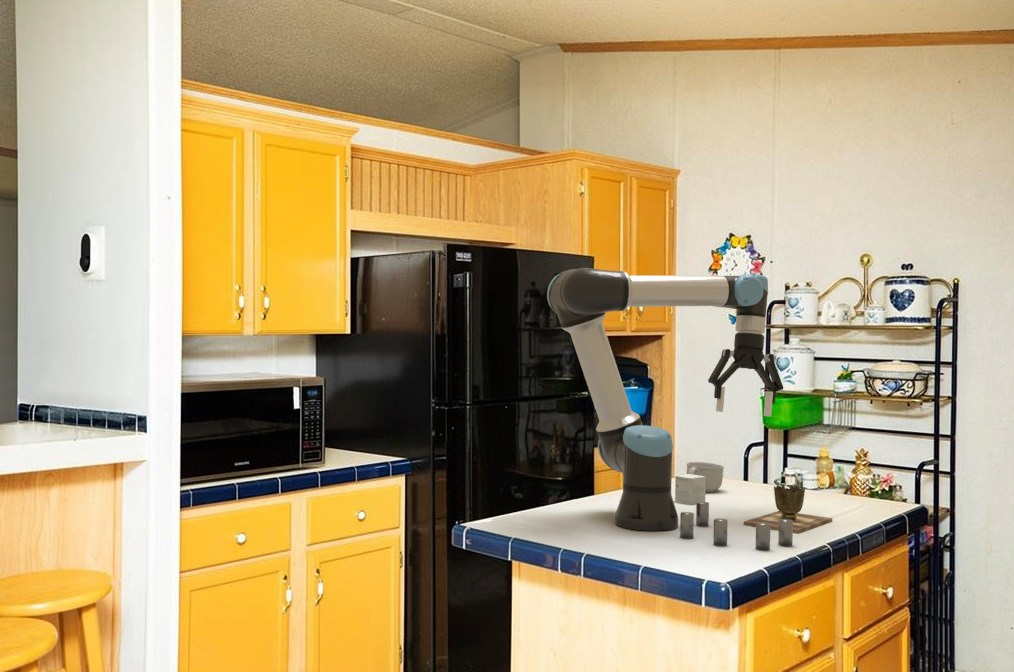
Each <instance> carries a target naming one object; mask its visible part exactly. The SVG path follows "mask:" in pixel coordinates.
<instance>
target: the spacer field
mask: <svg viewBox="0 0 1014 672" xmlns="http://www.w3.org/2000/svg"><path fill="white" fill-rule="evenodd" d="M695 506H696V507H695V508H696V509H695V512H696V513H695V514H694V512H691V511H682V512H680V516H679V517H680V523H679V525H680V526H679V527H680V528H679V529H680V530H679V537H680V539H685V540H686V539H687V540H690V539H694V536H695V535H694V528H695V526H697V527H703V528H704V527H709V525H710V524H709V522H710V519H709V518H710V515H709V514H710V513H709V511H710V510H709V509H710V502H709V501H708V502H707V501H705V502H696V504H695ZM694 518H695V519H694ZM694 520H695V521H694ZM728 521H729V520H728V519H727V518H718V517H717V518H714V519H713V535H712V537H713V539H712V541H713V542H712V543H713V546H717V547H725V546H728V525H729V523H728ZM694 522H695V523H694ZM694 524H695V525H694ZM793 535H794V533H793V520H791V519H779V530H778V546H782V547H792V546H793V537H794V536H793ZM755 549H756V550H758V551H770V550H771V529H770V523H766V522H757V523H756V527H755Z"/></svg>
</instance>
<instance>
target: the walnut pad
mask: <svg viewBox="0 0 1014 672" xmlns="http://www.w3.org/2000/svg"><path fill="white" fill-rule="evenodd" d="M781 514H782V512H780V511H779V510H777V511H773V512H771V513H768V514H764V515H761V516H757V517H754V518H751V519H747V520H744V521H743V525H744V526H749V527H755V528H756V523H757V522H766V523H770V530H774V531H779V519H783V518H782V517H781ZM796 516H797V517H796V519H795V520H793V534H800V533H805V532H806V531H809V530H813V529H814V528H818V527H820V526H823V525H827V524H828V523H832V522H833V517H827V516H821V515H813V514H804V513H800V512H798V513H796Z"/></svg>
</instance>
